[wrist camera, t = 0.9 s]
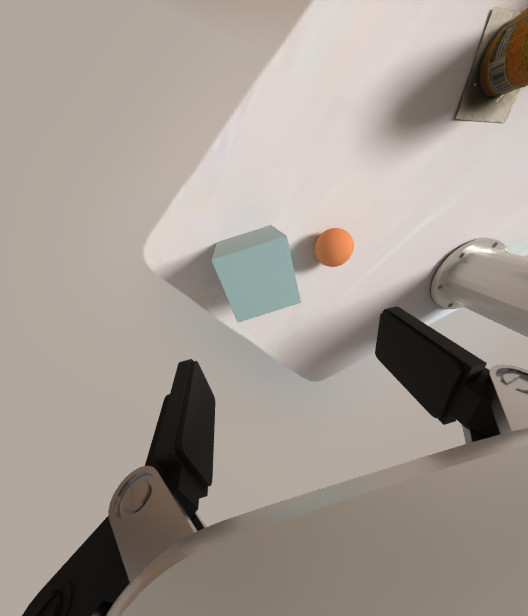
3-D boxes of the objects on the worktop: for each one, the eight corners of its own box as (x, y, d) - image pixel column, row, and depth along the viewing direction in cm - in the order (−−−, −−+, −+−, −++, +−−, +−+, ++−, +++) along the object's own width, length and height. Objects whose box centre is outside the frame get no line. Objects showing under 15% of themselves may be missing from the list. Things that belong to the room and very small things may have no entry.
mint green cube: (271, 225, 27) (286, 236, 20) (283, 276, 31) (300, 302, 23) (216, 242, 27) (211, 260, 20) (236, 291, 31) (237, 322, 23)
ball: (341, 221, 28) (360, 225, 24) (343, 255, 31) (361, 264, 26) (306, 232, 28) (320, 238, 24) (312, 265, 31) (325, 276, 26)
